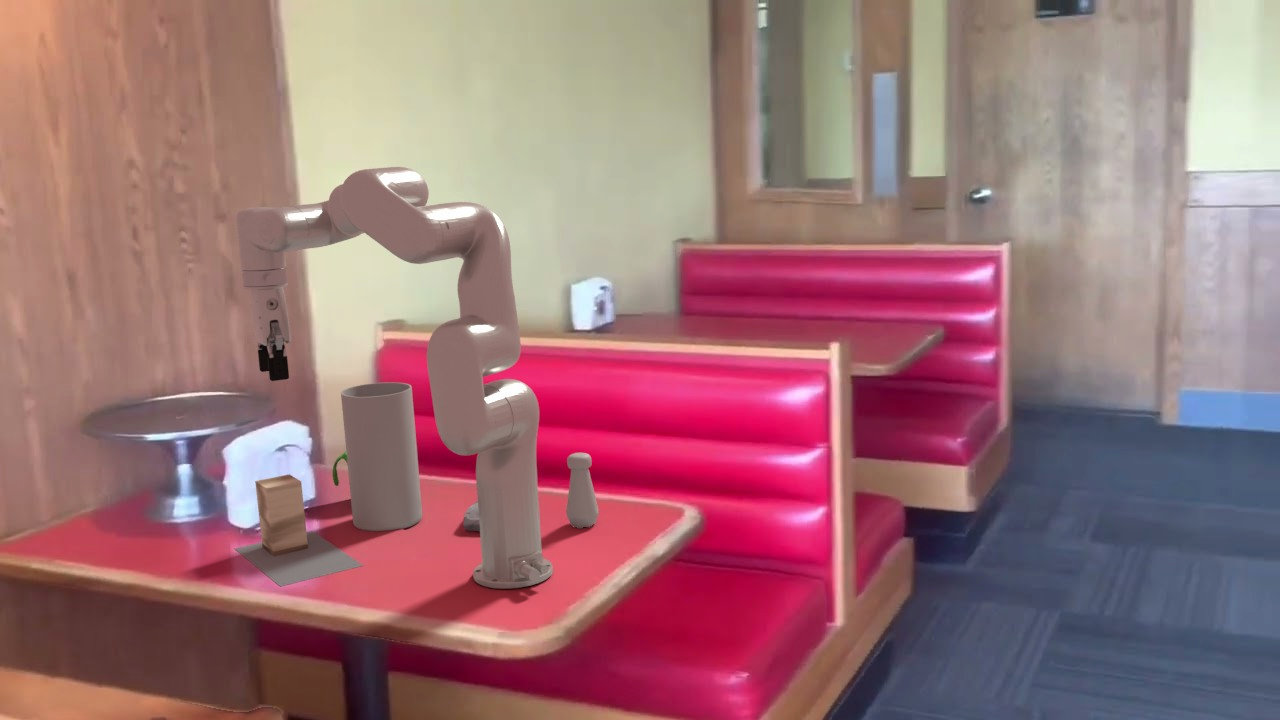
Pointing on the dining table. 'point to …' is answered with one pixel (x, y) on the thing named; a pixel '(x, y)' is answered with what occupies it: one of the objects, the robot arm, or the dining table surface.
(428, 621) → the dining table surface
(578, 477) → the salt shaker
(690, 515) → the dining table surface
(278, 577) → the slate mat
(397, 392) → the cylinder vase
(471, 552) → the dining table surface
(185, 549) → the dining table surface
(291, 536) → the birch block
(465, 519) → the stone block
